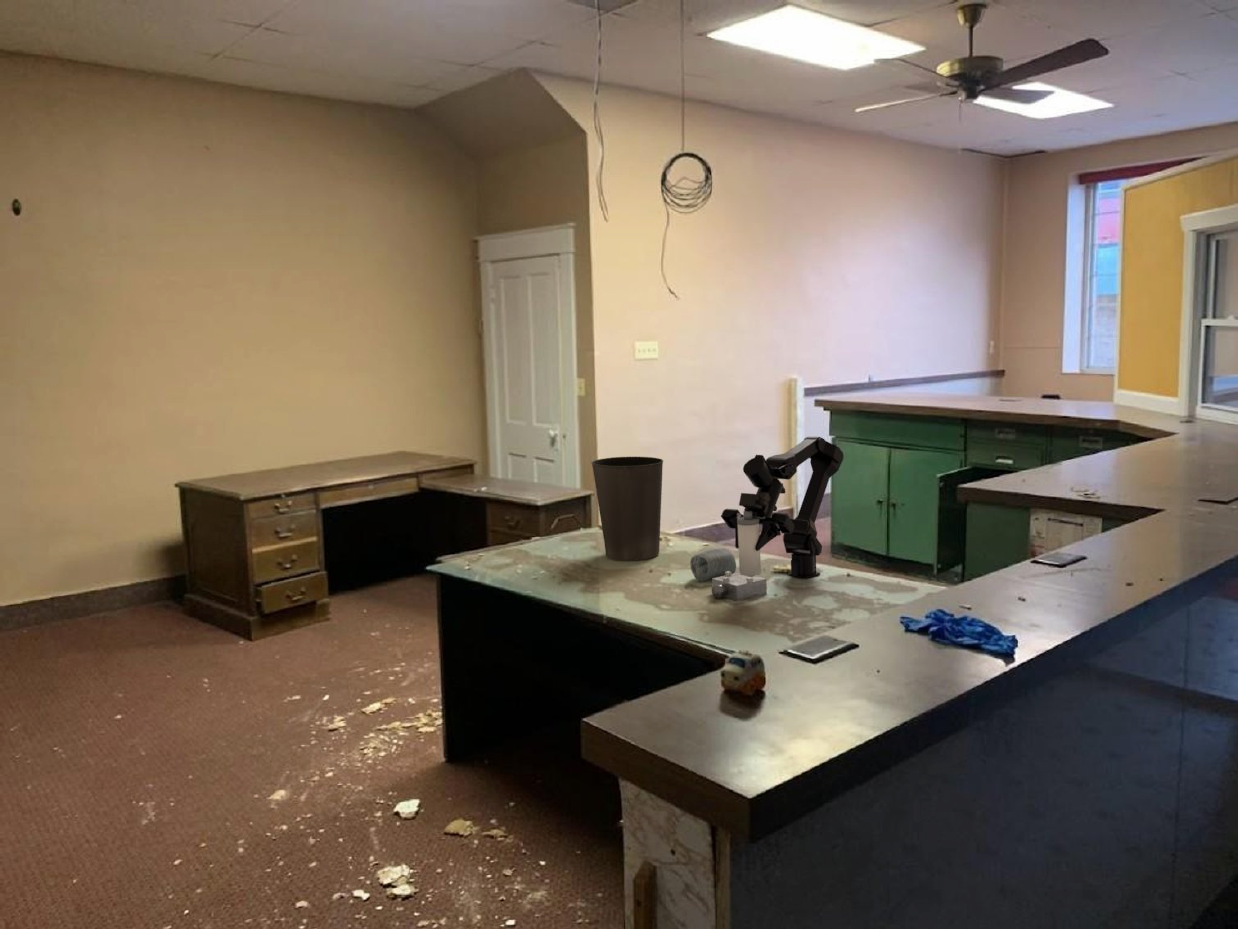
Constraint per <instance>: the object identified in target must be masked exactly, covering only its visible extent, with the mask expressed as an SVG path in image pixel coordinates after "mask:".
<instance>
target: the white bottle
mask: <svg viewBox="0 0 1238 929" xmlns="http://www.w3.org/2000/svg"><path fill="white" fill-rule="evenodd" d="M742 511H743V514H742V515H744V517H742V518H738V519H737V524H738V547H739V548H738V566H739V567H738V568H739V570H738V571H739V572H740V574H741V575H744V576H758V575H760V574H762V567H761V564H762V563H761V562H762V561H761V549H760V550H759V551H756V549H755V547H756V544H757V541H758V538H759V536H760V534H761V533H760V525H759V518H757V517H752V511H749V510H748V511H745V510H742Z"/></svg>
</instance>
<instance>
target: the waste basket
mask: <svg viewBox="0 0 1238 929" xmlns="http://www.w3.org/2000/svg"><path fill="white" fill-rule="evenodd" d="M663 464H664V459H662V458H659V457H651V456H617V457H614V456H613V457H605V458H604V457H603V458H600V459H596V460H592V461H591V466H592V472H593V477H594V478H593V479H594V484H595V489H596V492H595V493H596V497H597V503H598V511H599V517H600V522H601V529H602V536H603V541H604V542H603V543H604V550H605V555H606V559H610V560H612V561H613V560H614V561H618V562H619V561H620V562H630V561H644V560H649V559H652V558H655V557H656V556H658V555H659V554H660V545H661V544H660V541H661V519H662V516H661V515H662V494H663V493H662V490H663Z"/></svg>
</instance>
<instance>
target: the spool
mask: <svg viewBox="0 0 1238 929" xmlns="http://www.w3.org/2000/svg"><path fill="white" fill-rule="evenodd" d="M736 562H737V561H736V558H735V556H734V554H733V552H732V551H730V549H727V548H721V547H720V548H712V549H708V550H704V551H702V552H699V553H695V554H694V555H693V556H692V557H691V558H690V569H691V573H692V574H693V576H694V578H695V579H696V580H697V581H698V582H701V583H702V582H706V581H710V580H712V578H716V577H721V576H725V572H727V571H730V572H732V574H734V573H736V569H737V563H736Z"/></svg>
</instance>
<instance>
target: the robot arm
mask: <svg viewBox="0 0 1238 929" xmlns="http://www.w3.org/2000/svg"><path fill="white" fill-rule="evenodd" d="M844 456H845V455H844V453H843V451H842V450H841V448H840V447H839V446H837V445H835V444H833V443H831V442H829V441H827V440H825V438H823V437H822V436H821V437H820V436H806V437H805V438H804V439H803V440H802V441H801V442H799V443H798V444H796V445H794V447H792V448H790V449H789V450H788V451H786V452H785V453H781V454H775V455H772V456H769V457H767V458H765V456H764V455H763V454H755V455H754V457H752V458H751V459H749V460H748V461H747V462H745V463H744V465H743V468H742V470H743V473H744V474H745V476H746V477H747V478H748V481H750V482H751V485H753V486H754V487H755V488H757V491H756V493H749V492H748V493H746V492H745V493H743V492H741V493H740V498H739V502H738V506H740V507H743V508H744V509H743V511H748V510H749V511H752V517H757V518H759V526H761V525H762V527H761V528H762V529H761V531H760V533H759V534H760V536H759V538H758V541H757V544H756V547H755V549H756V551H759V550H760V551H761V549H763V547H764V546H765V545H767V544H768V543H769V542H771V541H772V540H773V539H775V538H776V537H778V536H781V535H782V534H783V536H782V541H783V546H784V549H785V553H786V554H791V559H790V572H788V573H787V574H788V576H793V577H795V578H800V579H808V578H812V577H817V576H820V575H821V572H819V571H817V556H820V555H821V553H822V550H823V545H822V544H821V542H820V541H819V539H818V538H817V536H818V530H817V527H816V520H817V516H818V514H819V511H820V509H821V506H822V502H823V498H824V497H825V493H826V490H827V487H828V484H829V481H830V478H832V477H833V476H834V475H835V474H837V472H838V471H839V470H840V467H841V465H842V462H843V461H844ZM807 460H810V466H811V469H812V472H811V476H810V479H809V482H808V484H807V488H806V490H805V494H804V497H803V500H802V502H801V505H800V508H799V511H798V514H797V516H796V517H795V518H791V517H790V516H789V515H788V513H783V512H778V507H777V503H778V500H779V498H780V495H781V494H784V495H785V494H786V489H785V487H784V483H782V482H781V481H780V480H791V479H792V478H793V476H794V475H795V474H796V473H797V472H798V469H797V468H798V467H799V466H801V464H803V463H804V462H806V461H807ZM720 517H721V519H722V520H723V522H724V523H725V524H726V526H727V527H728V528H730V529H733V530H734V534H735V538H734V539H735V541H734V542H735V544H734V546H735V548H736V549H738V550H739V547H738V524H737V519H738V518H742V517H744V514H742V513H741V512H740V511H739V509H736V508H725V509H723V510H722V512H721V515H720Z"/></svg>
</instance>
